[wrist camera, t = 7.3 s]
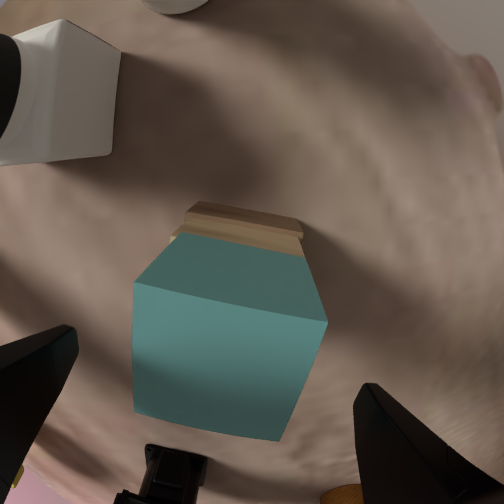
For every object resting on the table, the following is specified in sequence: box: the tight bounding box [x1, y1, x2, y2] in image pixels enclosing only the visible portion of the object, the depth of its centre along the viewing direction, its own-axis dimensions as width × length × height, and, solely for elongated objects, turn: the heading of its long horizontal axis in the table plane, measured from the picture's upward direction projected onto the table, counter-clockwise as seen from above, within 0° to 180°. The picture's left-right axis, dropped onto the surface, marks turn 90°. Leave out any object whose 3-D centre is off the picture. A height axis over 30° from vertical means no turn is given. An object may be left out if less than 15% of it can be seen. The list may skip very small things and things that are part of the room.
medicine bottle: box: [0, 19, 121, 166], centre depth 11 cm, size 7×7×12 cm
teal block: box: [132, 232, 328, 442], centre depth 11 cm, size 5×5×5 cm
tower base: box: [185, 201, 304, 244], centre depth 18 cm, size 6×6×4 cm
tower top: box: [170, 218, 305, 257], centre depth 15 cm, size 6×6×4 cm
